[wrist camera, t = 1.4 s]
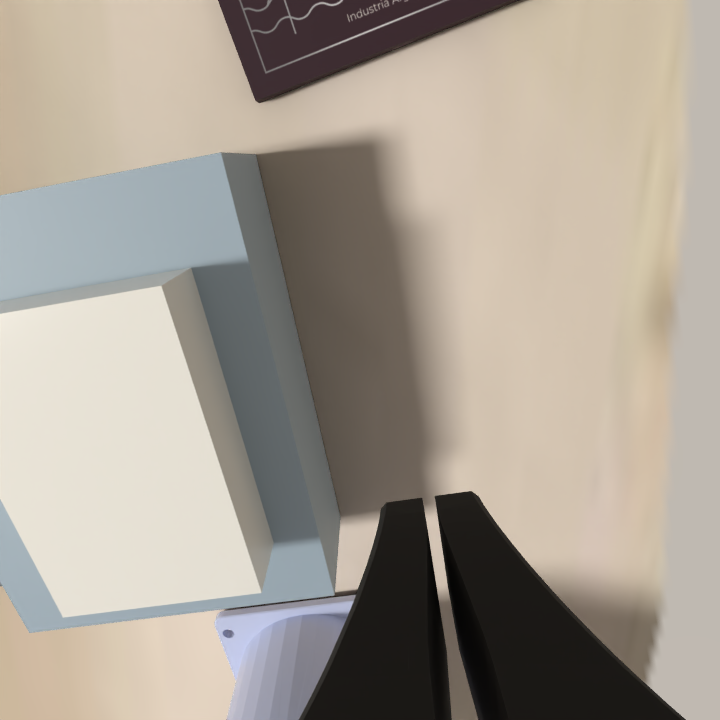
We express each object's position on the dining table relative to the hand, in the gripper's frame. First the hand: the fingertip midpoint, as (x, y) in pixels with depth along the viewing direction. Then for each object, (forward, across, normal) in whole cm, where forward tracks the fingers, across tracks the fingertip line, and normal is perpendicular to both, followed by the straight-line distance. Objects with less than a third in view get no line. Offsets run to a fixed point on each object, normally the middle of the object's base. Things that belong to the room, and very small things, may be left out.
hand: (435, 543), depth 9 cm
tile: (+6, +8, 0) cm, 10 cm away
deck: (+10, +9, 0) cm, 13 cm away
